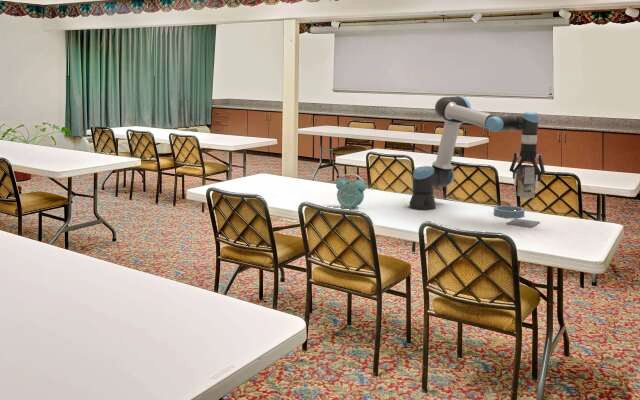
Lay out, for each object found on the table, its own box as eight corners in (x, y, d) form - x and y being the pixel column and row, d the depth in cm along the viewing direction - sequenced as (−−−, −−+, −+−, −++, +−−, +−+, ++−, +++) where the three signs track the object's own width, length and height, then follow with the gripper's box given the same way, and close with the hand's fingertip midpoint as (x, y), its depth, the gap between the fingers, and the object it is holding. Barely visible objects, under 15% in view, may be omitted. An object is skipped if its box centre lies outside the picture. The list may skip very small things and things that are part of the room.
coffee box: (535, 198, 313) (537, 166, 309) (522, 198, 312) (525, 166, 309) (527, 194, 322) (529, 164, 318) (515, 194, 321) (517, 164, 318)
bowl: (489, 215, 337) (490, 209, 337) (500, 210, 350) (500, 204, 349) (518, 219, 328) (518, 213, 328) (527, 214, 341) (527, 208, 340)
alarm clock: (333, 208, 355) (333, 173, 351) (339, 205, 364) (339, 171, 360) (361, 210, 349) (362, 175, 345) (367, 207, 357) (367, 173, 353)
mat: (506, 224, 318) (506, 222, 318) (515, 219, 329) (515, 218, 329) (531, 227, 311) (531, 226, 311) (539, 222, 321) (539, 221, 321)
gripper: (504, 142, 315) (501, 185, 319) (549, 145, 302) (546, 189, 306) (509, 141, 321) (506, 183, 325) (554, 143, 308) (550, 187, 312)
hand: (526, 186), depth 316 cm, fingers closed on coffee box, 10 cm apart
